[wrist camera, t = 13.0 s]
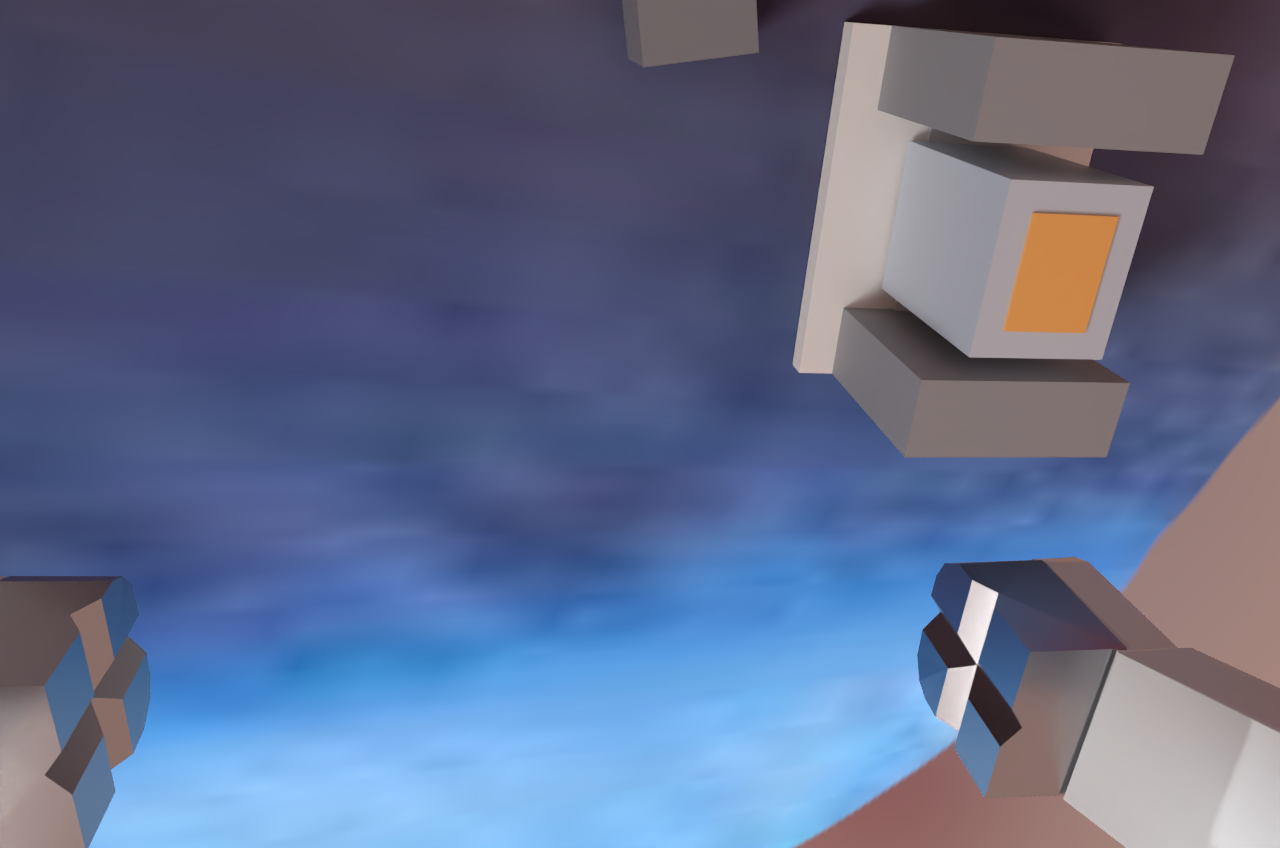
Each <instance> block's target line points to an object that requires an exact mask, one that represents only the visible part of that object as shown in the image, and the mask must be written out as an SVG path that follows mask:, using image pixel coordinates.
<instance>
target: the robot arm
mask: <svg viewBox="0 0 1280 848" xmlns="http://www.w3.org/2000/svg"><path fill="white" fill-rule="evenodd" d="M931 596H932V598H933V600H934V602H935V603H936V605H937V607H938V609H939V611H940V613H939V614H938V615H937V616H936V617H935V618H934V619H933V620H932V621H931V622H930V623H929V624H928V625H927V626H926V627H925V628H924V629H923V631H922V636H921V641H920V645H919V650H918V655H917V656H918V669H919V681H920V684H921V687H922V690H923V693H924V696H925V699H926V701H927V703H928V704H929V706H930V708H931V710H932V711H933V713H934V715H935V717H937V718H938V719H940V720H941V721H943V722H945V723H946V724H948V725H949V726H951V727H952V728H954V729H955V730H957V731H959V733H958V737H957V740H956V744H955V749H956V752H957V753H958V755H959V756H960V758H961V759H962V761H963V763H964V765H965V766H966V768H967V770H968V771H969V773H970V774H971V776H972V778H973V779H974V781H975V783H976V784H977V786H978V788H979V789H980V791H981V792H982V794H983V796H984V797H985V798H992V797H1025V796H1056V795H1064V798H1063V799H1064V800H1065V801H1066V802H1068V803H1069V804H1070V805H1071V806H1073V807H1074V808H1075V809H1077V810H1078V811H1079V812H1081V813H1082V814H1083V815H1085V816H1086V817H1087V818H1088V819H1089V820H1091V821H1092V822H1093V823H1095V824H1096V825H1097V826H1099V827H1100V828H1101V829H1102V830H1104V831H1105V832H1106V833H1108V834H1109V835H1110V836H1112V837H1113V838H1114V839H1115V840H1117V841H1118V842H1119V843H1121V844H1122V845H1123V846H1125V847H1126V848H1280V688H1278V687H1276V686H1274V685H1271V684H1269V683H1267V682H1265V681H1263V680H1261V679H1258V678H1256V677H1254V676H1252V675H1250V674H1248V673H1245V672H1243V671H1241V670H1239V669H1237V668H1234V667H1232V666H1230V665H1228V664H1225V663H1223V662H1221V661H1219V660H1217V659H1215V658H1213V657H1210V656H1208V655H1206V654H1204V653H1202V652H1199V651H1197V650H1195V649H1193V648H1177V647H1176V646H1175V645H1174V644H1173V643H1172V642H1171V641H1170V640H1169V639H1168V638H1167V637H1166V636H1165V635H1164V634H1163V633H1162V632H1161V631H1159V629H1158V628H1156V627H1155V626H1154V625H1153V624H1152V623H1151V622H1150V621H1149V620H1148V619H1147V618H1146V617H1145V616H1144V615H1143V614H1142V613H1141V612H1140V611H1139V610H1138V609H1137V608H1136V607H1135V606H1134V605H1133V604H1132V603H1131V602H1130V601H1128V600H1127V599H1126V598H1125V597H1124V596H1123V595H1122V594H1121V593H1120V592H1119V591H1118V590H1117V589H1116V588H1115V587H1114V586H1113V585H1112V584H1111V583H1110V582H1109V581H1108V580H1107V579H1106V578H1105V577H1104V576H1103V575H1101V574H1100V573H1099V572H1098V571H1097V570H1096V569H1095V568H1094V567H1093V566H1092V565H1091V564H1090V563H1089V562H1087V561H1084V560H1081V559H1079V558H1076V557H1068V558H1050V559H1032V560H1025V561H997V562H970V563H945V564H944V565H943V567H942V568H941V570H940V571H939V573H938V574H937V576H936V580H935V583H934V587H933V591H932V595H931ZM138 616H139V611H138V607H137V603H136V598H135V594H134V590H133V585H132V584H131V583H130V582H128V581H127V580H126V579H125V578H124V577H123V576H9V577H7V578H6V577H2V576H0V848H89V845H90V843H91V841H92V839H93V837H94V835H95V833H96V831H97V829H98V827H99V825H100V823H101V820H102V818H103V816H104V814H105V812H106V810H107V808H108V806H109V804H110V802H111V800H112V797H113V795H114V793H115V787H114V782H113V777H112V773H111V769H112V768H114V767H115V766H116V765H118V764H119V763H121V762H122V761H123V760H125V759H126V758H128V757H129V756H130V755H132V754H133V753H134V751H135V748H136V746H137V744H138V742H139V739H140V737H141V735H142V733H143V730H144V727H145V722H146V717H147V712H148V707H149V702H150V671H149V665H148V659H147V653H146V652H145V651H144V650H143V649H142V648H140V647H139V646H138V645H137V644H136V643H135V642H134V641H133V640H131V639H130V638H129V637H128V634H129V632H130V630H131V628H132V626H133V625H134V623H135V621H136V619H137V617H138Z"/></svg>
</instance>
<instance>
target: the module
mask: <svg viewBox="0 0 1280 848" xmlns="http://www.w3.org/2000/svg"><path fill="white" fill-rule="evenodd" d="M1153 188H1154V186H1150V185H1147V184H1144V183H1141V182H1137V181H1134V180H1131V179H1128V178H1124V177H1121V176H1118V175H1115V174H1111V173H1108V172H1105V171H1102V170H1098V169H1095V168H1092V167H1089V166H1085V165H1082V164H1079V163H1076V162H1072V161H1069V160H1066V159H1063V158H1059V157H1056V156H1053V155H1050V154H1046V153H1043V152H1040V151H1037V150H1033V149H1030V148H1027V147H1010V146H992V145H975V144H957V143H939V142H922V141H909V145H908V151H907V156H906V161H905V167H904V172H903V177H902V182H901V188H900V193H899V198H898V204H897V209H896V214H895V220H894V225H893V230H892V236H891V241H890V246H889V252H888V257H887V262H886V268H885V273H884V278H883V284H882V289H883V290H884V291H885V292H887V293H888V294H889V295H891V296H892V297H893V298H894V299H896V300H897V301H898V302H899V303H901V304H902V305H903V306H904V307H906V308H907V309H908V310H910V311H911V312H912V313H913V314H915V315H916V316H917V317H918V318H920V319H921V320H922V321H924V322H925V323H926V324H927V325H929V326H930V327H931V328H932V329H934V330H935V331H936V332H938V333H939V334H940V335H941V336H943V337H944V338H945V339H946V340H948V341H949V342H950V343H952V344H953V345H954V346H955V347H957V348H958V349H959V350H960V351H962V352H963V353H964V354H965V355H967V356H968V357H975V358H1033V359H1091V360H1102V357H1103V354H1104V351H1105V347H1106V344H1107V341H1108V337H1109V334H1110V331H1111V327H1112V324H1113V321H1114V317H1115V314H1116V311H1117V307H1118V304H1119V301H1120V298H1121V294H1122V291H1123V288H1124V284H1125V281H1126V278H1127V274H1128V271H1129V268H1130V264H1131V261H1132V258H1133V254H1134V251H1135V248H1136V245H1137V241H1138V238H1139V235H1140V231H1141V228H1142V225H1143V221H1144V218H1145V215H1146V211H1147V208H1148V205H1149V201H1150V198H1151V195H1152V192H1153Z"/></svg>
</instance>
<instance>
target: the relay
mask: <svg viewBox="0 0 1280 848" xmlns="http://www.w3.org/2000/svg"><path fill="white" fill-rule="evenodd" d="M622 5H623V15H624V24H625V34H626V44H627V53H628V59H630V60H631V61H633V62H635V63H637V64H638V65H640V66H642V67H650V66H658V65H666V64H673V63H681V62H689V61H697V60H705V59H713V58H720V57H728V56H736V55H744V54H752V53H759V46H758V24H757V2H756V0H622Z"/></svg>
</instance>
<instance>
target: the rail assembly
mask: <svg viewBox="0 0 1280 848" xmlns="http://www.w3.org/2000/svg"><path fill="white" fill-rule="evenodd" d="M1234 57H1235V55H1226V54H1216V53H1206V52H1195V51H1185V50H1175V49H1164V48H1154V47H1144V46H1133V45H1123V44H1120V43H1109V42H1097V41H1084V40H1071V39H1059V38H1046V37H1033V36H1020V35H1007V34H994V33H981V32H969V31H956V30H943V29H930V28H917V27H904V26H892V25H879V24H866V23H853V22H844V29H843V35H842V42H841V48H840V55H839V62H838V68H837V75H836V81H835V88H834V94H833V101H832V108H831V114H830V121H829V127H828V134H827V141H826V147H825V154H824V160H823V167H822V173H821V180H820V187H819V193H818V200H817V206H816V213H815V220H814V226H813V233H812V239H811V246H810V252H809V259H808V266H807V272H806V279H805V285H804V292H803V299H802V305H801V312H800V318H799V325H798V331H797V338H796V345H795V351H794V358H793V366H794V367H795V368H796V370H797V371H798V372H799V373H832V374H833V375H834V376H835V377H836V379H837V380H838V381H839V382H840V383H841V384H842V385H843V387H844V388H845V389H846V390H847V391H848V392H849V394H850V395H851V396H852V397H853V398H854V399H855V400H856V402H857V403H858V404H859V405H860V406H861V407H862V409H863V410H864V411H865V412H866V413H867V414H868V415H869V417H870V418H871V419H872V420H873V421H874V422H875V423H876V425H877V426H878V427H879V428H880V429H881V430H882V432H883V433H884V434H885V435H886V436H887V437H888V438H889V440H890V441H891V442H892V443H893V444H894V445H895V447H896V448H897V449H898V450H899V451H900V452H901V453H902V455H903V456H904V457H1107V454H1108V451H1109V447H1110V444H1111V441H1112V438H1113V435H1114V432H1115V429H1116V426H1117V422H1118V419H1119V416H1120V413H1121V410H1122V407H1123V404H1124V401H1125V397H1126V394H1127V391H1128V388H1129V385H1130V383H1129V382H1128V381H1126V380H1125V379H1123V378H1121V377H1120V376H1118V375H1117V374H1115V373H1113V372H1112V371H1110V370H1109V369H1107V368H1105V367H1104V366H1102V365H1101V364H1099V363H1097V362H1096V361H1094V360H1091V359H1033V358H975V357H968V356H967V355H965V354H964V353H963V352H962V351H960V350H959V349H958V348H957V347H955V346H954V345H953V344H952V343H950V342H949V341H948V340H946V339H945V338H944V337H943V336H941V335H940V334H939V333H938V332H936V331H935V330H934V329H932V328H931V327H930V326H929V325H927V324H926V323H925V322H924V321H922V320H921V319H920V318H918V317H917V316H916V315H915V314H913V313H912V312H911V311H910V310H908V309H907V308H906V307H904V306H903V305H902V304H901V303H899V302H898V301H897V300H896V299H894V298H893V297H892V296H891V295H889V294H888V293H887V292H885V291H884V290H883V289H882V284H883V278H884V273H885V268H886V262H887V257H888V252H889V246H890V241H891V236H892V230H893V225H894V220H895V214H896V209H897V204H898V198H899V193H900V188H901V182H902V177H903V172H904V167H905V161H906V156H907V151H908V145H909V141H922V142H939V143H957V144H975V145H992V146H1010V147H1027V148H1030V149H1033V150H1037V151H1040V152H1043V153H1046V154H1050V155H1053V156H1056V157H1059V158H1063V159H1066V160H1069V161H1072V162H1076V163H1079V164H1082V165H1085V166H1089V163H1090V160H1091V156H1092V152H1093V149H1094V148H1095V149H1112V150H1129V151H1147V152H1164V153H1181V154H1199V155H1203V153H1204V150H1205V147H1206V144H1207V141H1208V138H1209V135H1210V132H1211V128H1212V125H1213V122H1214V119H1215V116H1216V113H1217V110H1218V107H1219V103H1220V100H1221V97H1222V94H1223V91H1224V88H1225V85H1226V82H1227V78H1228V75H1229V72H1230V69H1231V66H1232V63H1233V60H1234Z"/></svg>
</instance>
